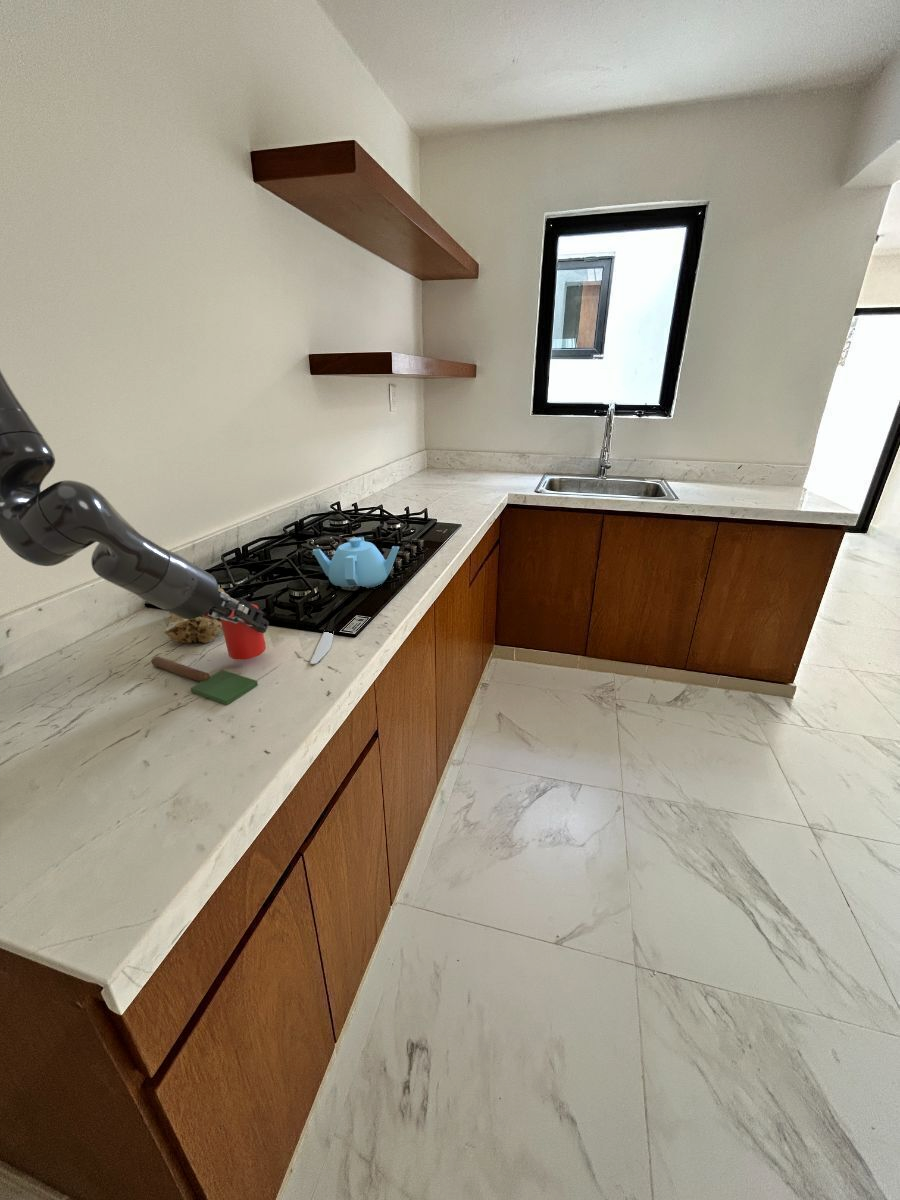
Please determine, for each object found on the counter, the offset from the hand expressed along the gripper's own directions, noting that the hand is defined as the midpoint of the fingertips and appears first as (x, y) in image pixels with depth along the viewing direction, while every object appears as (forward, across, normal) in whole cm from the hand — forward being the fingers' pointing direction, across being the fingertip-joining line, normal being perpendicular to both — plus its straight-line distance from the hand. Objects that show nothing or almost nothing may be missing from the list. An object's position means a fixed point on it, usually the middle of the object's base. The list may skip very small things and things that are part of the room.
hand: (249, 624), depth 85 cm
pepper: (+2, 0, +4) cm, 5 cm away
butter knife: (+14, -6, -5) cm, 16 cm away
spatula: (-2, +4, +11) cm, 12 cm away
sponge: (+9, +19, 0) cm, 21 cm away
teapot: (+30, +2, -22) cm, 37 cm away
